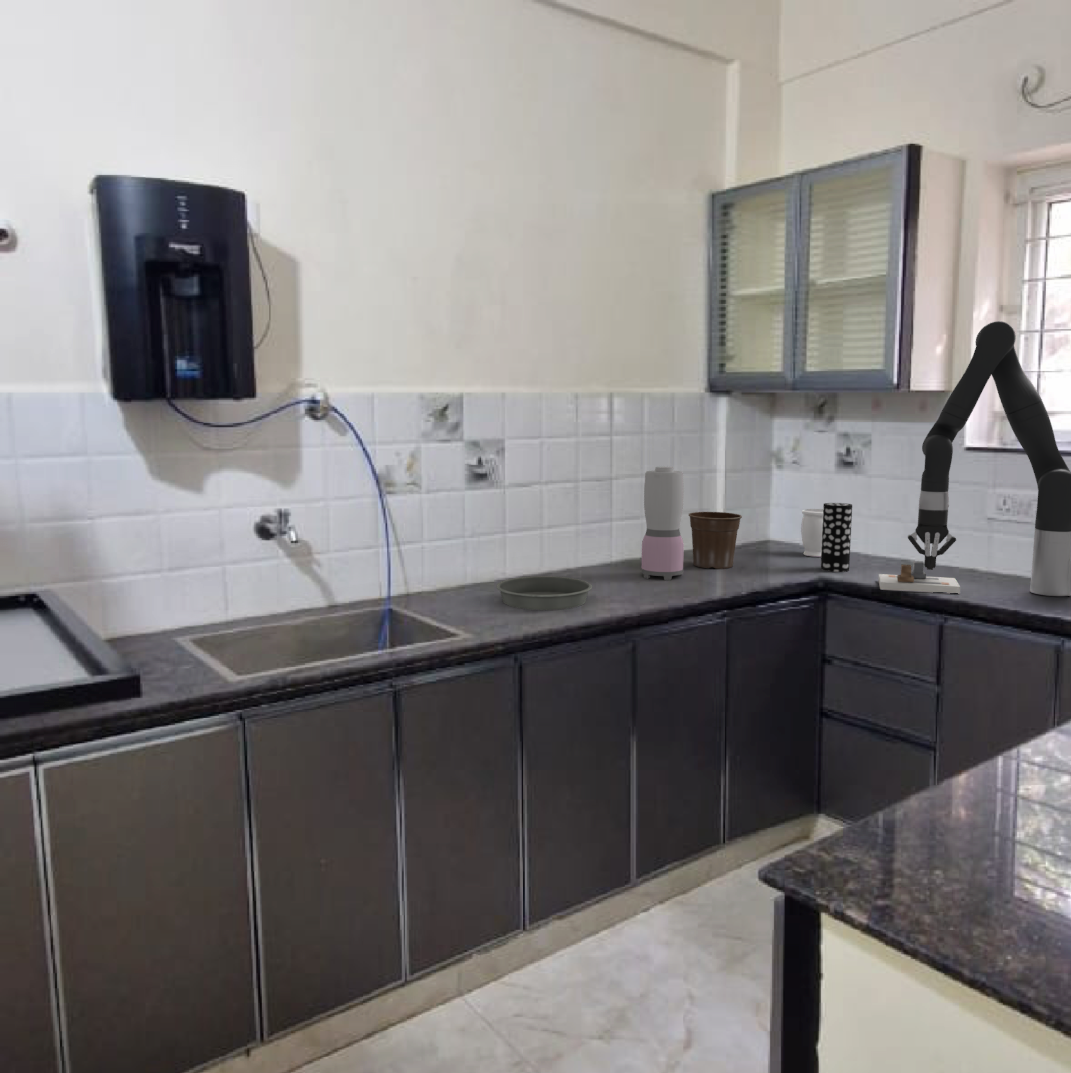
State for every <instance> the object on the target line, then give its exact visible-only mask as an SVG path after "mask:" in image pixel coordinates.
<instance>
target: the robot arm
mask: <svg viewBox="0 0 1071 1073" xmlns="http://www.w3.org/2000/svg"><path fill="white" fill-rule="evenodd" d="M1014 329H1015V328H1013V326H1012V325H1010V323H1008V322H1005V321H1000V320H997V321H992V322H990V323H987V324H986V325H985V326H983V327H982V328H981V329H980V330H979V332H978V334H977V335H976V337H975V348H974V352H973V355H972V356H971V357H972V358H971V359H970V361H969V364H968V365H967V367H966V370H965V371H964V372H963V374H962V376H961V377H960V379H959V381H958V382H957V384H956V385H955V387H954V389H953V390H952V392H951V393H950V395H949V396H948V398H947V400H946V402H945V404H944V406H943V408H942V410H941V411H940V413H939V416H938V418H937V420H936V422H934V424H933V425H932V427H931V428H930V430H929V431H928V433H927V435H926V437H925V438H924V440H923V443H922V445H921V450H922V453H923V455H924V470H923V472H922V474H921V481H920V482H921V484H920V493H919V500H918V511H917V512H918V515H917V526H916V528H915V529H914V530H915V531H914V532H912V533H911V534H908V535H907V539H908V541H910V542H909V543H911V544H912V546H913V547H914V549H915V551H917V552H918V554H920V555H923V556H924V561H923V563H924V565H923V566H924V568H926V570H928V571H933V570H934V569H935V568H936V565H937V557H938V556H941V555H945V553H946V552H947V551H948V549H949V548H950V547H952V546H953V544H955V543H956V541H957V538H956V536H953V535H952V534H950V533H949V532H950V531H949V529H948V515H949V506H950V501H949V489H950V488H949V485H950V484H949V483H950V477H949V476H950V471H951V467H952V466H951V465H952V462H953V455H954V454H953V452H954V447H953V442H954V440H955V439H956V436H957V435H958V433H959V432H960V431H961V430H963V429H964V428H965V425H966V424H967V422H968V421H969V418H970V416H971V415H972V412H973V411H974V409H975V408H976V405H977V403H978V401H979V399H980V397H981V395H982V393H983V391H984V388H985V387H986V385H987V383H988V381H989V380H990V378H991V376H992V378H993V381H994V384H995V388H996V390H997V393H998V397H999V399H1000V400H999V401H1000V403H1001V406H1002V408H1003V412H1004V414H1005V416H1006V418H1007V421H1008V424H1009V425H1010V428H1011V429H1012V432H1013V434H1014V435H1015V437H1016V439H1017V441H1018V442H1019V444H1020V446H1021V448H1022V449H1023V451H1024V452H1025V453H1026V456H1027V457H1028V460H1029V462H1030V464H1031V468H1032V471H1033V474H1034V478H1035V481H1036V484H1037V501H1036V502H1037V504H1036V514H1035V521H1034V522H1035V524H1034V533H1033V534H1034V535H1033V547H1032V548H1033V549H1032V560H1031V561H1032V562H1031V573H1030V574H1031V575H1030V583H1029V584H1030V586H1029V591H1030V593H1032V594H1035V595H1041V596H1047V597H1068V596H1069V597H1071V470H1070V468H1069V467H1068V465H1067V464H1066V462H1065V460H1064V458H1063V455H1061V452H1060V450H1059V448H1058V444H1057V441H1056V437H1055V433H1054V429H1053V426H1052V422H1051V419H1050V416H1049V412H1048V410H1047V409H1046V407H1045V404H1044V402H1043V399H1042V397H1041V396H1040V393H1039V392H1038V390H1037V388H1036V387H1035V385H1034V384H1033V382H1032V381H1031V379H1030V378H1029V377H1028V375H1027V374H1026V373H1025V371H1024V369H1023V367H1022V365H1021V362H1020V361H1019V357H1018V354H1017V351H1016V348H1015V343H1016V339H1017V338H1016V336H1017V335H1016V331H1015V330H1014ZM917 536H918V537H917ZM918 538H919V540H921V542H922V543H923V544H924V546H923V547H924V549H923V547H921V546H920V545H919V543H918V542H917V540H918ZM944 539H945V543H944V544H943V545H942V546H941V547H940V548H939V545H940V544H941V543H942V542H943V541H944ZM938 548H939V549H938Z"/></svg>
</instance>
